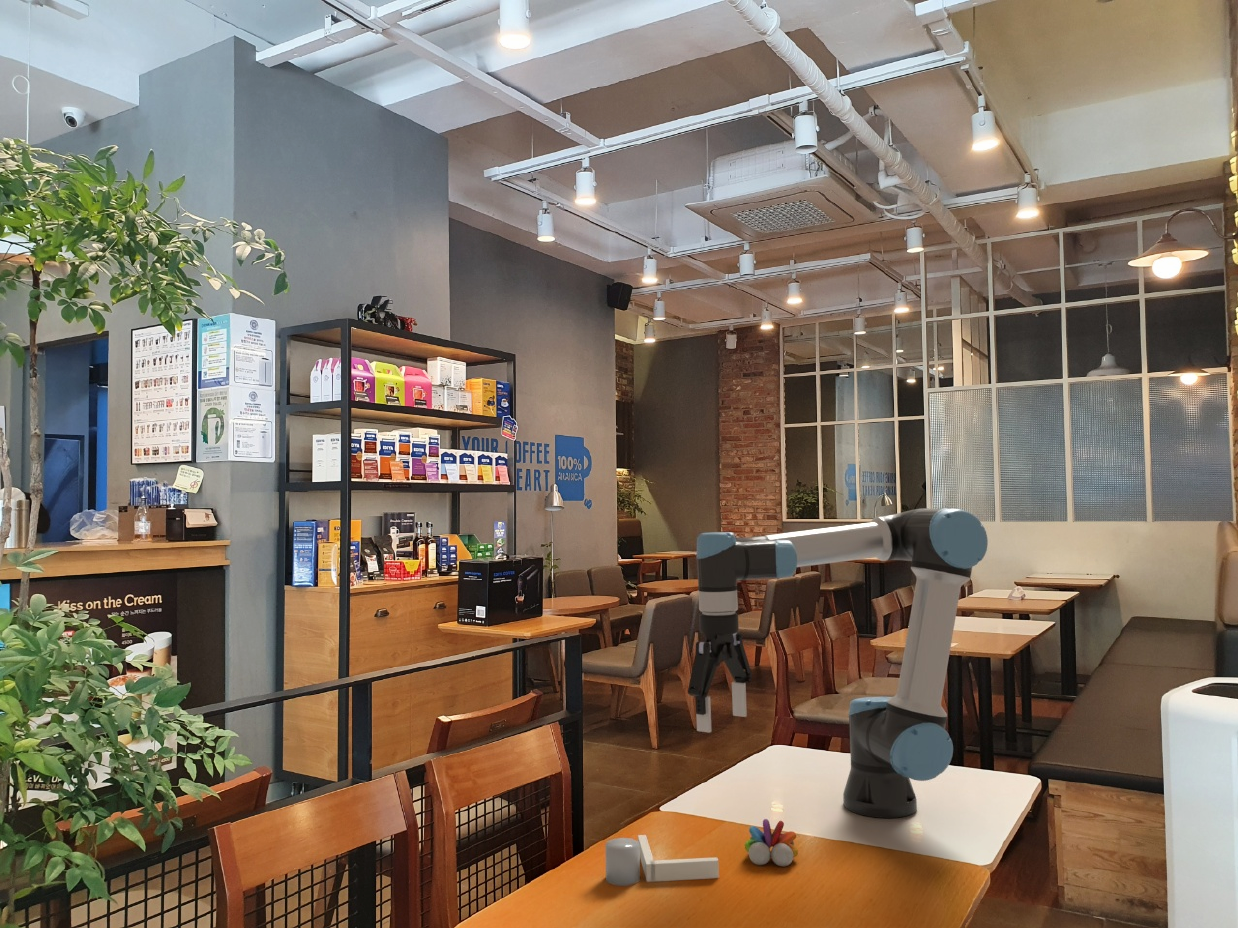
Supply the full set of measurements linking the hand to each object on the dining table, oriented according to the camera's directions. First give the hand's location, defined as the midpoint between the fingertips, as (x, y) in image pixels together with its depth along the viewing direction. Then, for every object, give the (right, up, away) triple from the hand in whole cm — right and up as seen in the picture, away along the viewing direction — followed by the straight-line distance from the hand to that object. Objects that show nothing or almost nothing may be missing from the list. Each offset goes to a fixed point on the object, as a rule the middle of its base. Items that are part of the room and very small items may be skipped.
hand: (722, 723), depth 176 cm
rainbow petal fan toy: (+8, -23, -7) cm, 26 cm away
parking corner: (-9, -23, -9) cm, 26 cm away
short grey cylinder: (-19, -23, -15) cm, 34 cm away
